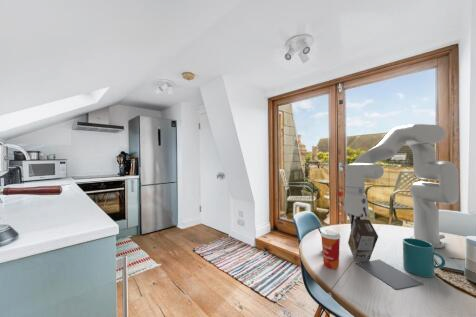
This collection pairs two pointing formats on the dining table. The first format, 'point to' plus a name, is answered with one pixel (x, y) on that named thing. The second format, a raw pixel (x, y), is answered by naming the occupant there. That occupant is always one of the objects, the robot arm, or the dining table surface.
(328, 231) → the paper cup
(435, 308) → the dining table surface
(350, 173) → the robot arm
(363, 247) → the coffee box
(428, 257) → the cup
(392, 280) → the mat
